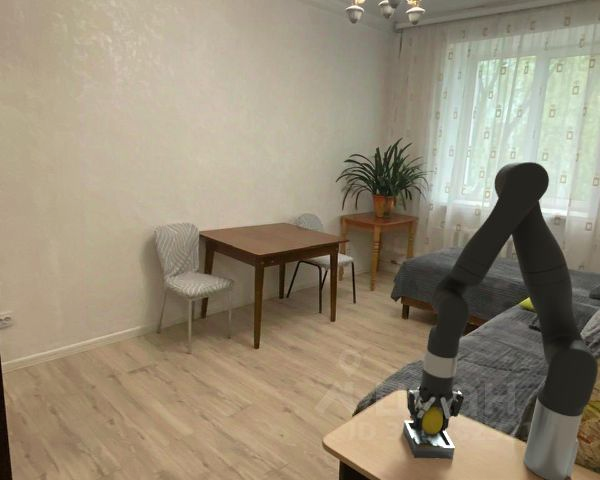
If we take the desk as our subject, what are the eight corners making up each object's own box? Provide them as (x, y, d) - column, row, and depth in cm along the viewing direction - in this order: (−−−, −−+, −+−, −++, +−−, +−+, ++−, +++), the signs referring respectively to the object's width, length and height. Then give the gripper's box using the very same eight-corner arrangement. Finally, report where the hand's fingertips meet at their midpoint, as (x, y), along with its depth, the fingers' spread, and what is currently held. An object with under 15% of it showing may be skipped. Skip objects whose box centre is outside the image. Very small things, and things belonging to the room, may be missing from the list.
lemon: (426, 423, 110) (430, 396, 108) (444, 435, 106) (449, 407, 104) (413, 431, 107) (417, 403, 105) (431, 444, 103) (436, 415, 101)
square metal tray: (438, 432, 112) (440, 422, 111) (452, 459, 103) (454, 447, 102) (403, 431, 112) (404, 420, 111) (414, 457, 102) (415, 446, 102)
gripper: (461, 361, 106) (451, 420, 110) (405, 359, 106) (397, 418, 109) (475, 377, 99) (463, 439, 103) (415, 375, 98) (405, 437, 102)
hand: (429, 428), depth 106 cm, fingers open, 5 cm apart
